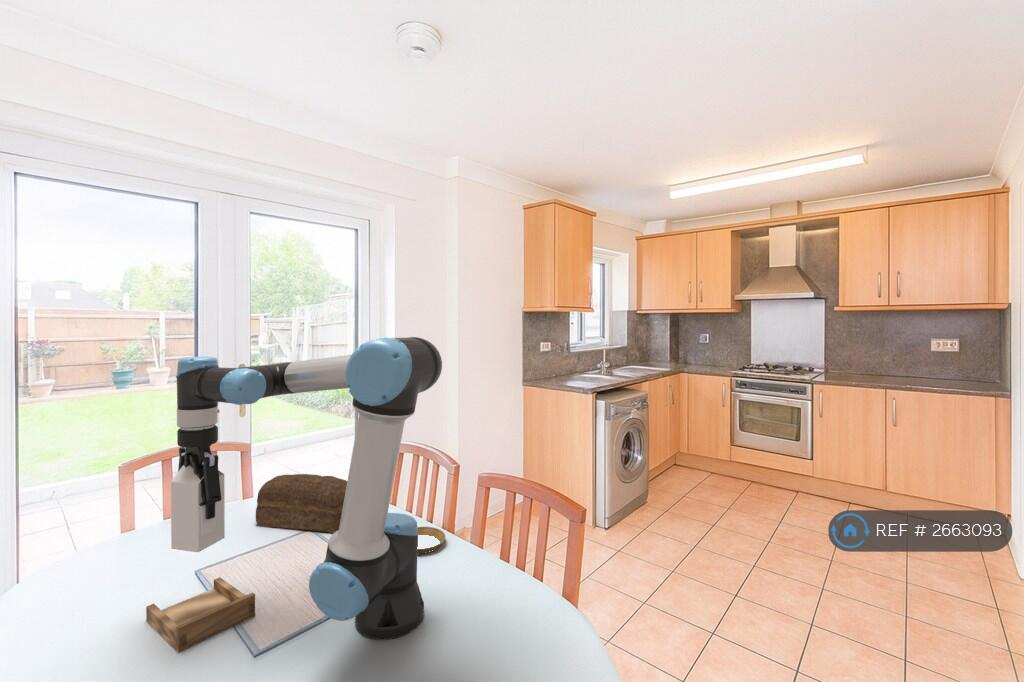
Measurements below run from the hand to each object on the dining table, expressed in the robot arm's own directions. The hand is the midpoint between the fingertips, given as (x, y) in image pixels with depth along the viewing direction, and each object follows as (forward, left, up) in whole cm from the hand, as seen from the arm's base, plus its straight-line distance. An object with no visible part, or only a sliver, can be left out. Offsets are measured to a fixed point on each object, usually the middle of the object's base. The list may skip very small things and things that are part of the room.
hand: (198, 526), depth 105 cm
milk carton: (0, 0, -4) cm, 4 cm away
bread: (+27, -43, -21) cm, 55 cm away
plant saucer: (-15, -54, -21) cm, 60 cm away
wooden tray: (-1, 0, -20) cm, 20 cm away
